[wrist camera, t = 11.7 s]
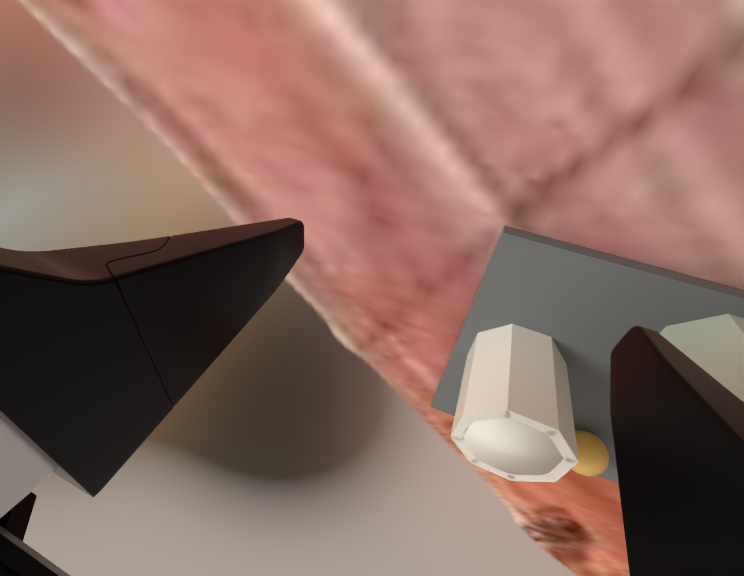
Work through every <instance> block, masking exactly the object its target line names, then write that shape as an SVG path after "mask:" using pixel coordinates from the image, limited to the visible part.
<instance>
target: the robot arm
mask: <svg viewBox="0 0 744 576" xmlns="http://www.w3.org/2000/svg"><path fill="white" fill-rule="evenodd" d="M303 249H304V225H303V223H302V222H301V221H299V220H296V219H293V218H285V219H278V220H272V221H265V222H259V223H252V224H246V225H239V226H233V227H227V228H220V229H214V230H207V231H200V232H195V233H187V234H181V235H174V236H172V237H170V236H167V237H161V238H154V239H147V240H140V241H133V242H124V243H116V244H108V245H98V246H89V247H81V248H71V249H63V250H52V251H39V252H28V251H16V250H10V249H4V248H0V576H70V575H68V574H67V573H66V572H64V571H63V570H61V569H60V568H59V567H57V566H56V565H55V564H53V563H52V562H50V561H49V560H48V559H46V558H45V557H43V556H42V555H41V554H39V553H38V552H36V551H35V550H34V549H32V548H31V547H29V546H28V545H27V544H25V543H24V542H23V539H24V535H25V532H26V529H27V526H28V522H29V519H30V516H31V513H32V509H33V506H34V503H35V500H36V495H35V494H34V493H32V492H31V491H33V490H34V489H35V488H36V487H37V486H38V485H39V484H41V483H42V482H43V481H44V480H45V479H46V478H47V477H49V476H50V475H51V474H52V473H55V474H57V475H58V476H60V477H61V478H63V479H64V480H66V481H68V482H69V483H71V484H72V485H74V486H76V487H77V488H79V489H80V490H82V491H84V492H85V493H87V494H88V495H90V496H92V497H94V496H95V495H96V494H97V493H99V491H101V490H102V488H103V487H104V486H105V485H106V484H107V483H108V482H109V480H110V479H111V478H112V477H113V476H114V475H115V474H116V473H117V471H118V470H119V469H120V468H121V467H122V466H123V465H124V463H125V462H126V461H127V460H128V459H129V458H130V457H131V455H132V454H133V453H134V452H135V451H136V450H137V449H138V447H139V446H140V445H141V444H142V443H143V442H144V441H145V439H146V438H147V437H148V436H149V435H150V434H151V433H152V432H153V430H154V429H155V428H156V427H157V426H158V425H159V424H160V422H161V421H162V420H163V419H164V418H165V417H166V415H167V414H168V413H169V412H170V411H171V410H172V409H173V406H175V405H176V404H177V403H178V402H179V400H180V399H181V398H182V397H183V396H184V395H185V394H186V392H187V391H188V390H189V389H190V388H191V387H192V386H193V384H194V383H195V382H196V381H197V380H198V379H199V378H200V376H201V375H202V374H203V373H204V372H205V371H206V370H207V368H208V367H209V366H210V365H211V364H212V363H213V362H214V360H215V359H216V358H217V357H218V356H219V355H220V354H221V352H222V351H223V350H224V349H225V348H226V347H227V345H228V344H229V343H230V342H231V341H232V340H233V338H235V336H236V335H237V334H238V333H239V332H240V331H241V330H242V328H243V327H244V326H245V325H246V324H247V322H248V321H249V320H250V319H251V318H252V317H253V316H254V315H255V314H256V312H257V311H258V310H259V309H260V308H261V307H262V306H263V304H264V303H265V302H266V301H267V300H268V299H269V298H270V296H271V295H272V294H273V293H274V292H275V290H276V289H277V288H278V287H279V286H280V284H281V283H282V281H283V280H284V278H285V277H286V276H287V274H288V273H289V271H290V270H291V268H292V267H293V265H294V264H295V262H296V261H297V260H298V258H299V257H300V255H301V254H302V252H303ZM610 416H611V425H612V433H613V441H614V449H615V458H616V466H617V474H618V482H619V490H620V498H621V506H622V515H623V523H624V531H625V539H626V547H627V555H628V563H629V571H630V576H744V402H743V401H742V400H740V399H739V398H738V397H737V396H736V395H734V394H733V393H732V392H731V391H729V390H728V389H727V388H726V387H724V386H723V385H722V384H721V383H720V382H718V381H717V380H716V379H715V378H713V377H712V376H711V375H710V374H708V373H707V372H706V371H705V370H704V369H702V368H701V367H700V366H699V365H697V364H696V363H695V362H694V361H692V360H691V359H690V358H689V357H688V356H686V355H685V354H684V353H683V352H681V351H680V350H679V349H678V348H676V347H675V346H674V345H673V344H672V343H670V342H669V341H668V340H667V339H665V338H664V337H663V336H662V335H660V334H659V333H658V332H657V331H654V330H651V329H648V328H645V327H642V326H634V327H632V328H631V329H630V330H629V331H628V332H627V333H626V334H625V335H624V336H623V337H622V339H621V340H620V341H619V342H618V343H617V344H616V346H615V347H614V348H613V350H612V352H611V356H610Z"/></svg>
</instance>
